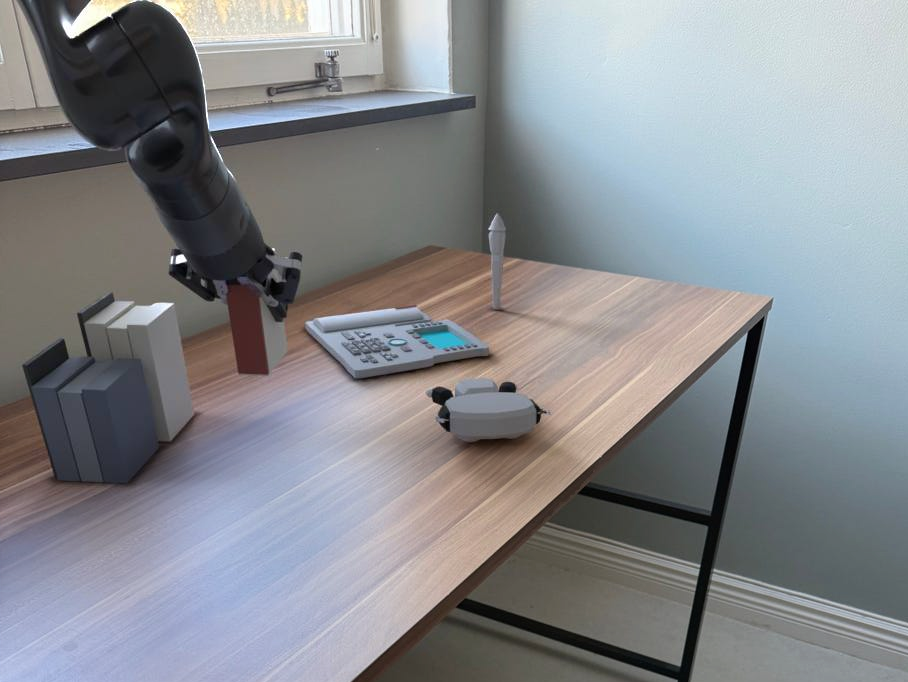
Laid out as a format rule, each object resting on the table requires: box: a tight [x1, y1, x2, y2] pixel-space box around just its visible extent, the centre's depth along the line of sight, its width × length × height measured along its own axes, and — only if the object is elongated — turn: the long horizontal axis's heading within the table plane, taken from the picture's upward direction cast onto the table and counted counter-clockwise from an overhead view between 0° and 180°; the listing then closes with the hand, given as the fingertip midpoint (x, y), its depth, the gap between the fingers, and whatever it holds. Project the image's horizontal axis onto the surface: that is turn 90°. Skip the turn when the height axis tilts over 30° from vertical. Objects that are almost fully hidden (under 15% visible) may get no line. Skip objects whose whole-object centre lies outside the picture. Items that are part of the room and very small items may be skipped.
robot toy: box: [425, 377, 552, 443], centre depth 106 cm, size 12×4×15 cm
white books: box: [76, 291, 195, 443], centre depth 102 cm, size 7×8×14 cm
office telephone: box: [304, 304, 490, 379], centre depth 130 cm, size 23×3×20 cm
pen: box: [487, 212, 507, 311], centre depth 140 cm, size 2×3×14 cm
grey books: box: [21, 337, 160, 484], centre depth 95 cm, size 8×9×12 cm
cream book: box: [226, 248, 288, 377], centre depth 97 cm, size 3×8×11 cm, turn 175°
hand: (263, 313), depth 99 cm, fingers closed on cream book, 3 cm apart
